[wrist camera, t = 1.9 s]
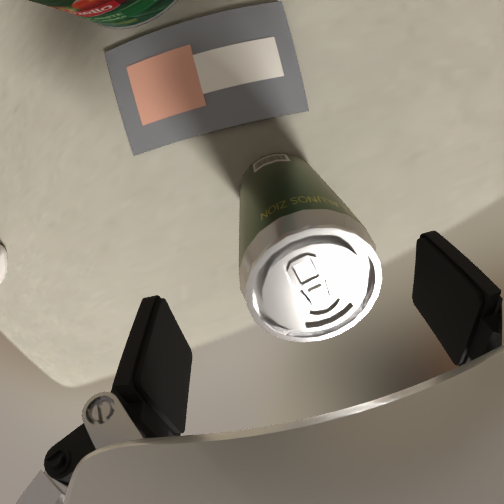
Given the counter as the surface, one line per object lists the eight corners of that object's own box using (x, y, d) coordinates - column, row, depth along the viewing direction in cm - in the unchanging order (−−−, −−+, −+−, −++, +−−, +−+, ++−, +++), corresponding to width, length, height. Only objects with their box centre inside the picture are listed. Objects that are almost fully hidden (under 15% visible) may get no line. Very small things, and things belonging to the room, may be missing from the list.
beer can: (225, 174, 20) (207, 268, 10) (295, 137, 19) (362, 191, 8) (262, 235, 22) (280, 362, 12) (327, 202, 21) (399, 308, 11)
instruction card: (280, 3, 14) (281, 0, 14) (307, 110, 18) (309, 111, 17) (107, 53, 15) (103, 52, 15) (136, 154, 19) (133, 156, 18)
